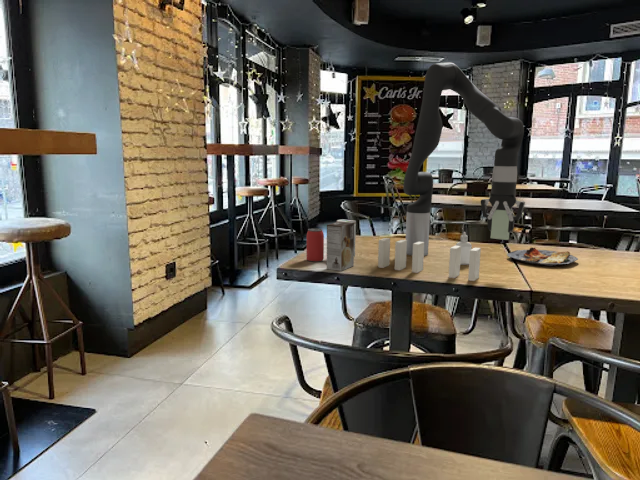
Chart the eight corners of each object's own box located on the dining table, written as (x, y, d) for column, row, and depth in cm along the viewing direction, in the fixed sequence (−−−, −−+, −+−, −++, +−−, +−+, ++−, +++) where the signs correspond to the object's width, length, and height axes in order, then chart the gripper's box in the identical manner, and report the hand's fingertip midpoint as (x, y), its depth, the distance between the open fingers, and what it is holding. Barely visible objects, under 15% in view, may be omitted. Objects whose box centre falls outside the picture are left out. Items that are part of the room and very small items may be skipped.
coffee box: (338, 264, 182) (339, 221, 179) (354, 266, 178) (354, 222, 175) (325, 269, 174) (326, 224, 171) (341, 271, 171) (342, 225, 168)
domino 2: (400, 266, 178) (401, 239, 177) (405, 267, 177) (406, 240, 176) (394, 269, 174) (395, 241, 172) (399, 270, 173) (400, 242, 171)
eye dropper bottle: (468, 265, 180) (470, 233, 178) (453, 263, 183) (455, 232, 181) (471, 263, 184) (473, 232, 182) (457, 261, 187) (458, 230, 185)
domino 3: (417, 268, 175) (418, 241, 173) (423, 269, 174) (424, 242, 172) (411, 272, 170) (413, 243, 169) (417, 272, 169) (418, 244, 168)
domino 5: (472, 276, 165) (474, 247, 163) (478, 277, 164) (480, 248, 162) (468, 280, 160) (469, 250, 158) (474, 281, 159) (476, 250, 157)
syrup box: (335, 256, 195) (335, 220, 192) (344, 254, 199) (345, 218, 197) (346, 258, 191) (347, 221, 189) (355, 256, 196) (356, 220, 193)
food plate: (525, 251, 207) (526, 243, 206) (585, 260, 190) (586, 252, 190) (498, 262, 190) (498, 253, 189) (561, 273, 173) (562, 263, 173)
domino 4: (453, 274, 168) (455, 245, 166) (459, 274, 167) (461, 246, 165) (448, 277, 164) (450, 248, 162) (454, 278, 162) (456, 248, 161)
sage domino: (490, 238, 164) (492, 208, 162) (491, 237, 166) (494, 207, 164) (507, 240, 161) (510, 209, 159) (508, 239, 163) (511, 209, 161)
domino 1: (384, 264, 182) (385, 237, 180) (389, 265, 181) (390, 238, 179) (377, 267, 177) (378, 240, 175) (383, 267, 176) (383, 240, 174)
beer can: (321, 262, 184) (322, 231, 182) (304, 261, 185) (304, 230, 183) (325, 258, 190) (325, 228, 188) (308, 258, 192) (308, 227, 189)
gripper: (529, 180, 159) (525, 231, 162) (484, 178, 167) (481, 227, 170) (525, 181, 153) (520, 235, 156) (478, 179, 160) (475, 230, 164)
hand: (500, 231), depth 163 cm, fingers closed on sage domino, 5 cm apart
